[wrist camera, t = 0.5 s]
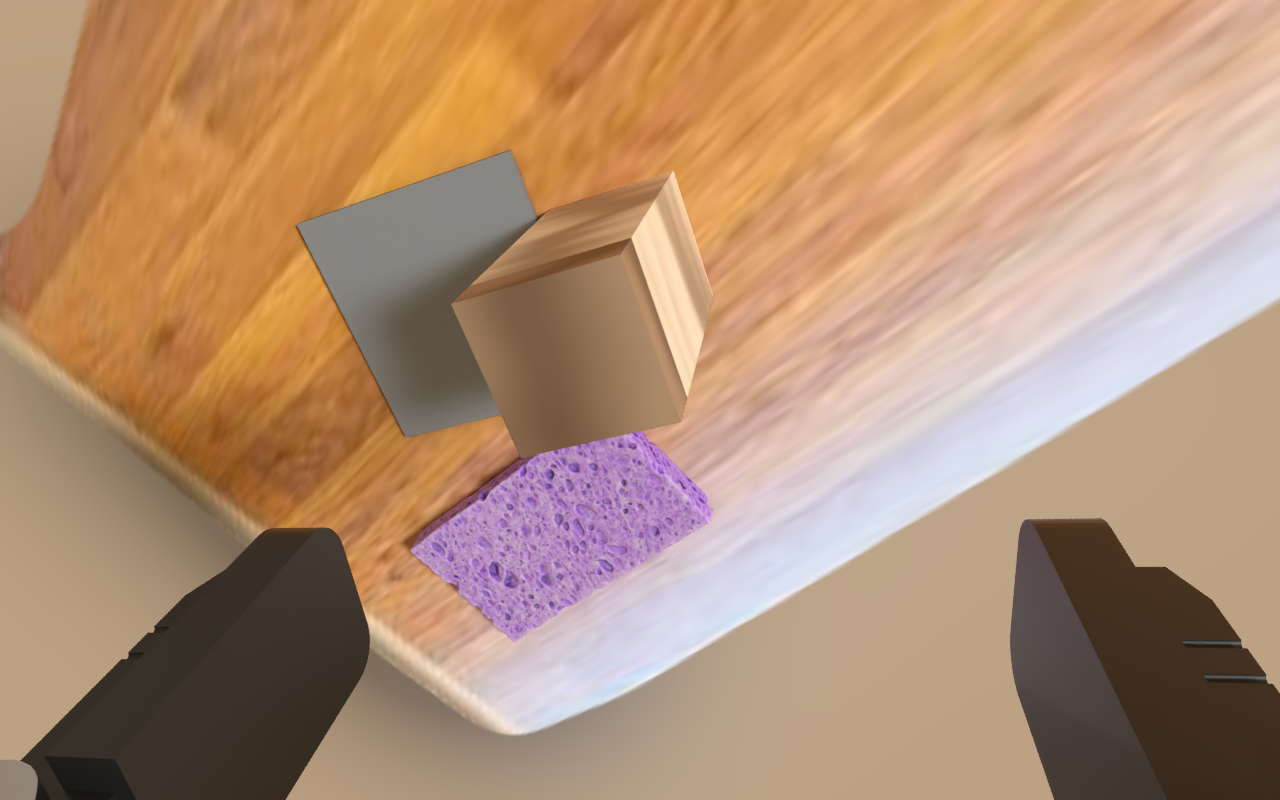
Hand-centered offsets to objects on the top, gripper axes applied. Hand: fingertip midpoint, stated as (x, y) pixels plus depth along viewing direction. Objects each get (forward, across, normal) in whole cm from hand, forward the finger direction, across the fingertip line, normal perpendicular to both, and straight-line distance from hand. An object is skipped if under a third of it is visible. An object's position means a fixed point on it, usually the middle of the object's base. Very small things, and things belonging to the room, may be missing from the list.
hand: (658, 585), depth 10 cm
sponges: (+24, +9, +14) cm, 29 cm away
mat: (+23, +12, +4) cm, 26 cm away
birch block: (+23, +4, +2) cm, 23 cm away
